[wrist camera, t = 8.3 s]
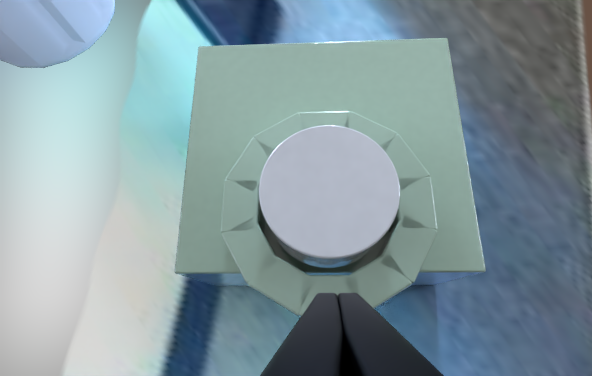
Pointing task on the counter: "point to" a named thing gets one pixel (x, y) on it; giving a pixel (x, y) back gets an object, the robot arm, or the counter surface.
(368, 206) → the flush button
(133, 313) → the counter surface
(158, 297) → the counter surface
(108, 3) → the soap bottle
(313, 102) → the push button box
